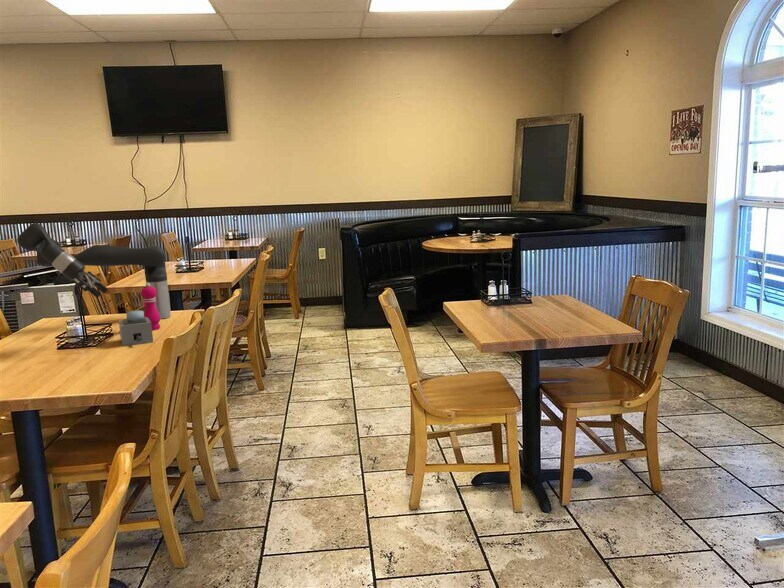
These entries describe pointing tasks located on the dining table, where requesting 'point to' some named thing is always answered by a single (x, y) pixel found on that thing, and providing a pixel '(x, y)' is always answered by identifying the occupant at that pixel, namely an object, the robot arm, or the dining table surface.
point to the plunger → (137, 337)
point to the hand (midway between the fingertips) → (103, 293)
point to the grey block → (135, 331)
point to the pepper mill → (151, 306)
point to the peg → (135, 317)
